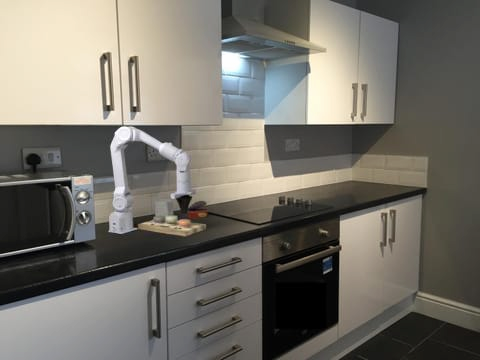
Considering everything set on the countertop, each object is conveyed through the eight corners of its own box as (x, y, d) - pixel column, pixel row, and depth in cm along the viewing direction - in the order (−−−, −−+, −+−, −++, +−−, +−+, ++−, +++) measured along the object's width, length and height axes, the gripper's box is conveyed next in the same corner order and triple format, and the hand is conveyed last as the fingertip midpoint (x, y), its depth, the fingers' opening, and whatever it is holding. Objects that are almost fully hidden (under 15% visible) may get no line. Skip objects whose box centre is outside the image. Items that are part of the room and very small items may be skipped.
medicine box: (173, 217, 205) (173, 200, 204) (167, 219, 201) (167, 201, 200) (161, 216, 209) (160, 198, 208) (155, 217, 205) (154, 200, 204)
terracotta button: (185, 227, 175) (185, 222, 175) (176, 225, 178) (176, 220, 178) (192, 224, 180) (192, 219, 179) (183, 223, 182) (183, 218, 182)
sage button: (172, 223, 179) (172, 218, 178) (163, 221, 181) (163, 217, 181) (179, 220, 183) (179, 216, 183) (170, 219, 186) (170, 215, 185)
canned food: (191, 227, 205) (181, 210, 203) (194, 220, 215) (184, 204, 213) (211, 217, 203) (201, 199, 201) (213, 210, 213) (204, 193, 211)
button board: (185, 236, 170) (185, 230, 170) (138, 228, 183) (137, 223, 183) (205, 229, 182) (205, 223, 182) (159, 222, 195) (159, 217, 195)
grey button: (159, 223, 182) (159, 218, 182) (151, 222, 185) (151, 217, 185) (167, 221, 187) (167, 216, 186) (158, 219, 189) (158, 215, 189)
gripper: (180, 183, 168) (180, 217, 170) (201, 179, 180) (202, 211, 182) (166, 182, 172) (167, 215, 173) (188, 178, 184) (189, 209, 186)
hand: (184, 213), depth 178 cm, fingers closed
